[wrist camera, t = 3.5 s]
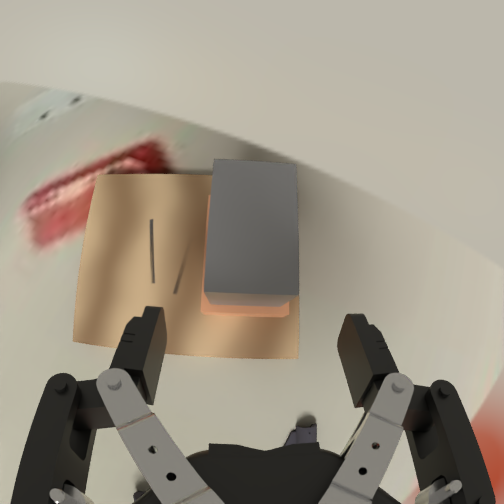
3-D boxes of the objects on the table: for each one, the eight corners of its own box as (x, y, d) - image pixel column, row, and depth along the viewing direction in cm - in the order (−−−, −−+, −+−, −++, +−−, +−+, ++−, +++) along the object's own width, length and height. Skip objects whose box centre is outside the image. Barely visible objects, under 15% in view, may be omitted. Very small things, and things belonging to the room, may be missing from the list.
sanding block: (203, 314, 22) (190, 301, 14) (210, 208, 24) (203, 150, 16) (282, 317, 22) (311, 306, 14) (282, 212, 24) (306, 157, 16)
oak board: (81, 341, 22) (72, 341, 20) (103, 183, 25) (97, 174, 24) (293, 357, 23) (298, 358, 21) (293, 188, 27) (296, 180, 25)
